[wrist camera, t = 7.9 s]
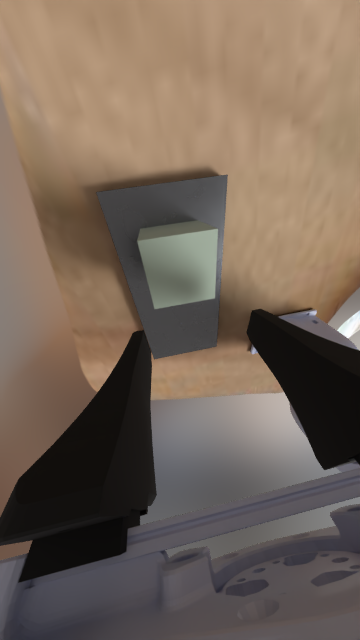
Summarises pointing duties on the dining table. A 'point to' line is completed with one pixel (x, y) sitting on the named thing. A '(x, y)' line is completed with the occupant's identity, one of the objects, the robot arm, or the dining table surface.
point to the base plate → (124, 225)
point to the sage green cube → (179, 262)
